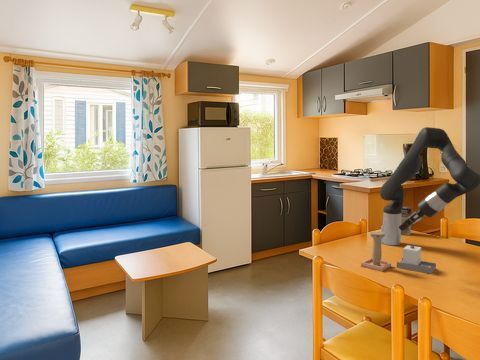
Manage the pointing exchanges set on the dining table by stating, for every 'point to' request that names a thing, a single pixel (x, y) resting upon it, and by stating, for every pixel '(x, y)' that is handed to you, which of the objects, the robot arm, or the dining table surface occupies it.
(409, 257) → the cover
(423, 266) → the blue-grey shallow bin
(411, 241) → the dining table surface
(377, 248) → the handle
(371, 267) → the tray
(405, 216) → the coffee box
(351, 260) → the dining table surface
